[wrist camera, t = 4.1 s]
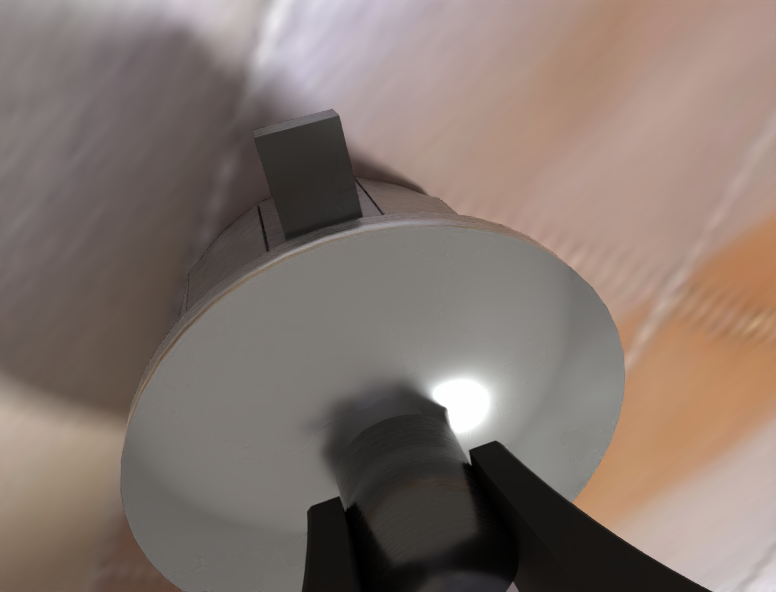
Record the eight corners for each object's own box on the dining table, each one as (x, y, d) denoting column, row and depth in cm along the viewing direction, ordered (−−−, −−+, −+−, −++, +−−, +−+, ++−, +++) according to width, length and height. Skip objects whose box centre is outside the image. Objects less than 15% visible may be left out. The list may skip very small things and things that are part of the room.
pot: (510, 446, 23) (563, 525, 19) (260, 535, 22) (270, 637, 18) (460, 53, 16) (529, 69, 12) (82, 150, 14) (41, 199, 11)
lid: (567, 495, 18) (670, 646, 14) (206, 609, 16) (209, 821, 12) (603, 147, 12) (795, 241, 8) (40, 259, 10) (-56, 453, 6)
